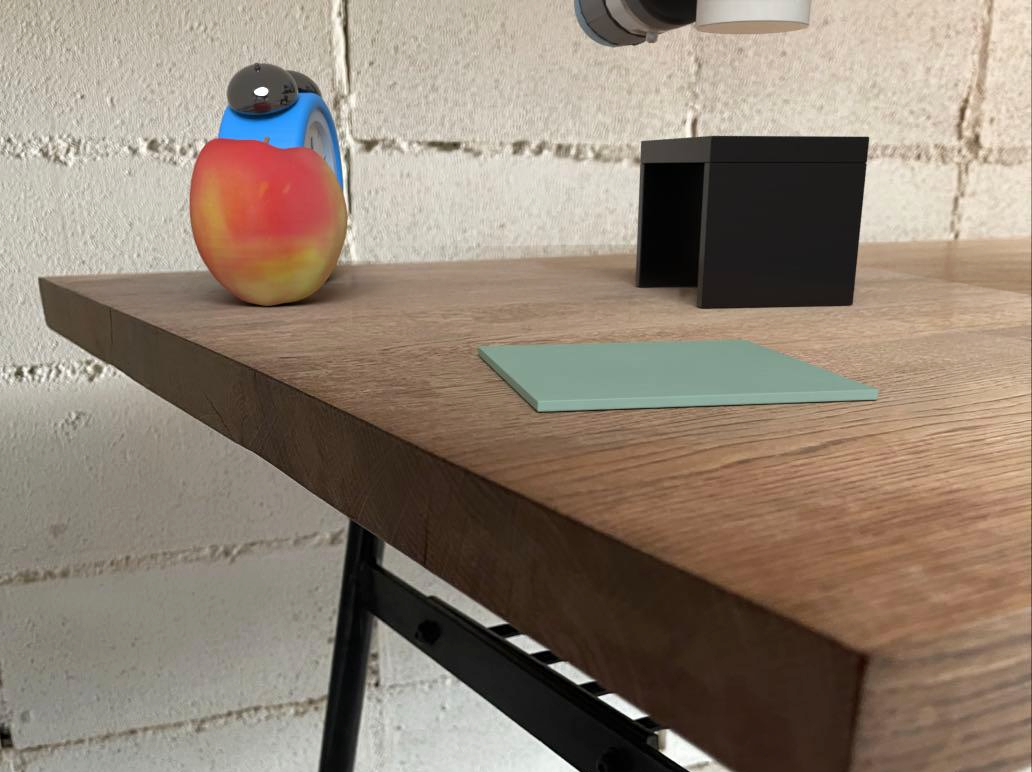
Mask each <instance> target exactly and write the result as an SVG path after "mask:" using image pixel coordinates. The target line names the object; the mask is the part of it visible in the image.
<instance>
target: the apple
mask: <svg viewBox="0 0 1032 772" xmlns="http://www.w3.org/2000/svg"><path fill="white" fill-rule="evenodd" d="M269 139H270V138H269V137H266V136H265V139H264V142H262V141H258V140H236V139H227V138H218V137H217V138H213V139H210V140H209V141H207V143H205V144H204V145H203V147H202V148H201V150H200V151H199V153H198V155H197V158H196V160H195V163H194V166H193V170H192V175H191V179H190V188H189V203H188V204H189V206H188V207H189V220H190V227H191V233H192V236H193V241H194V244H195V247H196V249H197V252H198V254H199V256H200V258H201V260H202V262H203V264H204V265H205V267H206V269H208V271H209V272H210V274H211V275H212V276H213V278H214V279H215V280H216V281H217V282H218V283H219V284H220V285H221V286H222V287H223V288H224V289H225V290H226V291H228V292H229V293H230V294H231V295H233V296H234V297H236V298H238V299H239V300H241V301H244V302H246V303H249V304H253V305H259V306H264V307H271V306H276V305H282V304H288V303H289V304H290V303H295V302H299V301H302V300H304V299H306V298H308V297H310V296H311V295H313V294H314V293H315V292H317V291H318V290H320V288H321V287H323V285H324V284H325V283H326V281H327V280H328V279H329V277H330V276H331V275H332V273H333V271H334V269H335V267H336V265H337V264H338V261H339V258H340V256H341V253H342V251H343V248H344V245H345V241H346V237H347V231H348V217H349V216H348V208H347V202H346V198H345V195H344V191H343V192H342V189H341V186H340V184H339V182H338V180H337V178H336V176H335V174H334V173H333V171H332V169H331V168H330V167H329V165H328V164H327V162H326V161H325V160H324V159H323V158H322V157H321V156H320V155H319V154H318V153H317V152H315V151H314V150H312V149H310V148H306V147H293V148H286V149H284V148H277V147H275V146H272V145H270V144H268V142H269Z"/></svg>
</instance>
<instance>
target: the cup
mask: <svg viewBox="0 0 1032 772" xmlns="http://www.w3.org/2000/svg"><path fill="white" fill-rule="evenodd" d="M811 13H812V0H697V5H696V22H695V25H694V26H695V30H696V31H698V32H700V33H707V34H714V35H716V34H718V35H765V34H778V33H789V32H795V31H800V30H804V29H808V28H809V27H810V24H811Z"/></svg>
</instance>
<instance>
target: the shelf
mask: <svg viewBox="0 0 1032 772" xmlns="http://www.w3.org/2000/svg"><path fill="white" fill-rule="evenodd" d="M869 147H870V136H853V135H852V136H845V135H844V136H843V135H842V136H840V135H839V136H833V135H832V136H831V135H829V136H828V135H827V136H826V135H825V136H822V135H821V136H820V135H819V136H817V135H811V136H809V135H704V136H690V137H675V138H662V139H648V140H641V141H640V159H639V160H640V161H639V162H640V164H639V183H638V185H639V186H638V207H637V208H638V209H637V210H638V211H637V234H636V236H637V237H636V259H635V261H636V262H635V282H634V283H635V286H636V287H638V288H666V287H667V288H668V287H669V288H672V287H697V291H696V292H697V293H696V307H697V308H699V309H700V308H701V309H728V308H729V309H730V308H731V309H733V308H735V309H737V308H777V307H778V308H779V307H780V308H781V307H782V308H783V307H824V306H825V307H826V306H829V307H831V306H853V305H854V295H855V287H856V275H857V266H858V265H857V264H858V257H859V255H858V254H859V246H860V238H861V237H860V235H861V226H862V215H863V207H864V195H865V184H866V175H867V166H868V165H867V164H868V163H867V162H868V157H869Z"/></svg>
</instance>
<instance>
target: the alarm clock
mask: <svg viewBox="0 0 1032 772" xmlns="http://www.w3.org/2000/svg"><path fill="white" fill-rule="evenodd" d="M226 102H227V106H226V107H225V109H224V111H223V113H222V114H223V115H222V117H221V120H220V125H219V129H218V133H217V134H218V135H217V138H227V139H236V140H258V141H262V142H264V139H265V136H266V137H269V138H270V139H269V142H268V144H270V145H272V146H275V147H277V148H284V149H286V148H293V147H306V148H310V149H312V150H314V151H315V152H317V153H318V154H319V155H320V156H321V157H322V158H323V159H324V160H325V161H326V162H327V164H328V165H329V167H330V168H331V169H332V171H333V173H334V174H335V176H336V178H337V180H338V182H339V184H340V186H341V189H342V192H343V193H344V178H343V177H344V176H343V165H342V157H341V156H342V155H341V149H340V144H339V143H340V141H339V138H338V133H337V130H336V125H335V121H334V118H333V116H332V113H331V110H330V109H329V107H328V105H327V103H326V101H325V100H324V97H323V94H322V91H321V89H320V87H319V86H318V84H317V83H316V82H315V81H314V80H313V79H312V78H311V77H310V76H308V75H306V74H305V73H303V72H299V71H296V70H291V69H284V68H283V67H281V66H279V65H275V64H272V63H268V62H267V63H266V62H254V63H253V64H249V65H247V66H244V67H242V68H241V69H239V70H238V71H236V72H235V73H234V75H233V76H232V77H231V78H230V80H229V82H228V85H227V88H226Z"/></svg>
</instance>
